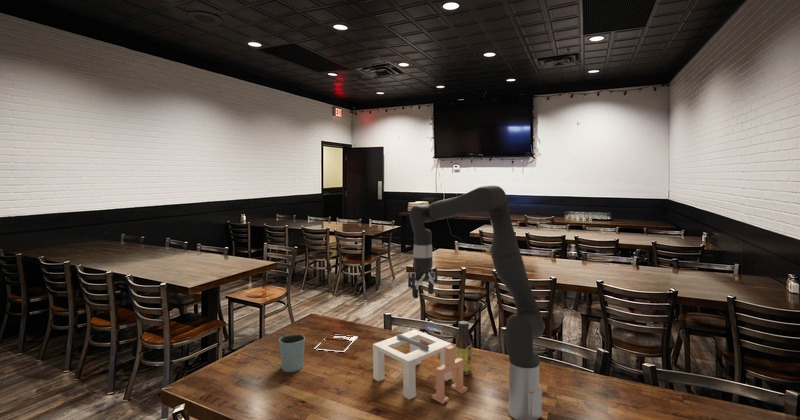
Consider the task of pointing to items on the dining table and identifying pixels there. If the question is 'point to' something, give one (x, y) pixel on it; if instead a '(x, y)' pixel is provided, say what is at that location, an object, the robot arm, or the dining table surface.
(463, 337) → the sauce bottle
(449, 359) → the tan wooden branched piece
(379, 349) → the small white table
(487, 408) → the dining table surface
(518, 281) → the robot arm
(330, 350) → the white thin flat frame
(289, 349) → the blue grey cup
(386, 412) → the dining table surface
